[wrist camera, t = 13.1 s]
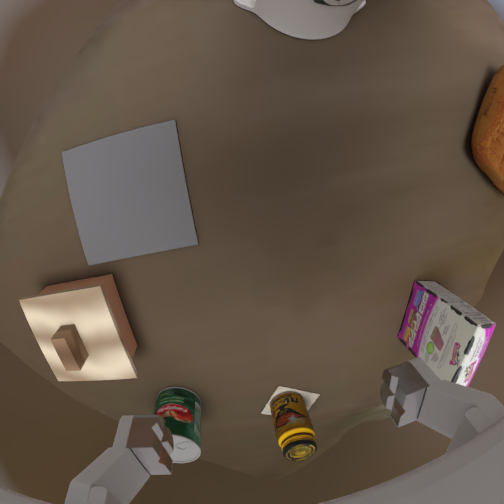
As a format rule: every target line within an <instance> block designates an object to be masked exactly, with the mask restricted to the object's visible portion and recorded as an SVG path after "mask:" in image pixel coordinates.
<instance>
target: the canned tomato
mask: <svg viewBox="0 0 504 504" xmlns="http://www.w3.org/2000/svg"><path fill="white" fill-rule="evenodd" d="M201 406H202V404H201V399H200V398H199V396H198V395H197V394H196V393H195V392H193V391H191V390H189V389H187V388H184V387H176V386H174V387H168V388H165V389H163V390H161V391H160V392H159V393H158V396H157V401H156V406H155V411H154V415H162V417H163V418H164V420H165V425H164V426H166V427H168V428H169V429H170V431H171V433H172V436H173V442H174V450H173V452H172V453H171V454H170V457H171V459H172V460H173V463H187V462H191V461H194V460H196V459H197V458H198V457H199V456H200V454H201V449H200V446H201Z"/></svg>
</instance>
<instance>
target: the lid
mask: <svg viewBox="0 0 504 504" xmlns="http://www.w3.org/2000/svg"><path fill="white" fill-rule="evenodd" d="M19 301H20V304H21V306H22V308H23V311H24V313H25V315H26V318H27V320H28V322H29V325H30V327H31V329H32V331H33V333H34V335H35V338H36V340H37V342H38V344H39V346H40V348H41V350H42V352H43V354H44V356H45V357H46V359H47V361H48V363H49V365H50V367H51V369H52V370H53V372H54V374H55V376H56V378H57V379H58V381H91V380H113V379H129V378H137V377H138V373H137V371H136V368H135V366H134V364H133V362H132V359H131V357H130V355H129V352H128V350H127V348H126V345H125V343H124V340H123V338H122V336H121V333H120V331H119V328H118V325H117V323H116V320H115V318H114V315H113V312H112V310H111V307H110V304H109V301H108V298H107V295H106V293H105V290H104V287H103V284H96V285H91V286H85V287H79V288H74V289H68V290H62V291H56V292H51V293H45V294H39V295H33V296H28V297H22V298H21V299H20V300H19Z"/></svg>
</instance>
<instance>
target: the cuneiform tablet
mask: <svg viewBox="0 0 504 504" xmlns="http://www.w3.org/2000/svg"><path fill="white" fill-rule="evenodd" d="M471 145H472V152H473V157H474V160H475V162H476V163H477V165H478V166H479V168H480V169H481V170H482V171H483V172H484V173H485V174H486V175H487V176H488V177H489V178H490V179H491V180H492V183H493V184H494V185H495V186H496V187H497V188H498V189H499V190H500V191H501V192H502V193H503V194H504V65H503V66H501V67H500V68H499V70H498V71H497V73H496V74H495V75H494V77H493V79H492V80H491V82H490V85H489V87H488V89H487V92H486V94H485V96H484V99H483V101H482V104H481V107H480V110H479V113H478V116H477V119H476V122H475V125H474V129H473V133H472V140H471Z"/></svg>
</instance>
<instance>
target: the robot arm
mask: <svg viewBox="0 0 504 504" xmlns="http://www.w3.org/2000/svg"><path fill="white" fill-rule="evenodd" d="M233 1H234V3H235V4H236V5H237V6H239V7H241V8H243V9H246V10H248V11H251V12H254V13H255V14H257V15H258V16H259V17H260V18H261V19H263V20H264V21H265V22H266V23H267V24H268V25H270V26H271V27H273V28H274V29H276V30H278V31H280V32H282V33H284V34H287V35H290V36H293V37H297V38H301V39H312V40H315V39H324V38H328V37H331V36H334V35H336V34H338V33H339V32H341V31H342V30H343V29H344V28H345V27H346V26H347V24H348V23H349V21H350V19H351V17H352V15H353V14H354V13H355V12H357V11H359V10H360V9H362V8H363V7H364V5H365V4H366V0H233ZM382 378H383V380H384V383H383V384H382V385H381V390H380V393H381V399H382V402H383V404H384V406H385V407H386V408H387V409H390V410H392V412H391V417H392V419H393V420H394V422H395V423H396V425H397V427H400V426H403V425H405V424H408V423H410V422H413V421H415V420H417V421H418V422H420V423H422V424H424V425H426V426H428V427H430V428H432V429H433V430H435V431H437V432H439V433H441V434H443V435H445V436H447V437H449V438H451V439H452V441H451V443H450V445H449V447H448V449H447V451H446V452H447V453H446V454H445V455H443V456H441V457H439V458H437V459H435V460H433V461H431V462H429V463H427V464H425V465H423V466H421V467H419V468H417V469H415V470H412V471H410V472H408V473H406V474H403V475H401V476H399V477H396V478H394V479H392V480H389V481H387V482H384V483H382V484H379V485H376V486H373V487H371V488H368V489H365V490H362V491H359V492H356V493H353V494H350V495H347V496H344V497H340V498H337V499H334V500H330V501H326V502H322V503H318V504H504V406H503V405H502V404H501V403H500V402H499V401H498V400H497V399H496V398H495V397H494V396H493V395H492V394H489V393H485V392H482V391H479V390H476V389H472V388H469V387H466V386H463V385H460V384H456V383H453V382H450V381H447V380H442V381H441V380H440V379H439V378H438V376H437V375H436V374H435V373H434V372H433V371H432V370H431V369H430V367H429V366H428V365H427V364H426V363H425V362H424V361H423V360H422V359H421V358H420V357H417V358H415V359H412V360H409V361H407V362H404V363H401V364H399V365H396V366H393V367H390V368H388V369H385V370H384V371H383V375H382ZM164 425H165V420H164V418H163V417H162V415H135V416H122V417H121V419H120V422H119V426H118V429H117V433H116V436H115V440H114V443H113V447H112V448H108V449H107V450H106V451H105V452H104V453H103V454H101V455H100V456H99V457H98V458H97V459H96V460H95V461H94V462H93V463H91V464H90V465H89V466H88V467H87V468H86V469H85V470H83V471H82V472H81V473H80V474H79V475H78V476H76V477H75V478H74V479H73V480H72V481H71V483H70V486H69V489H68V493H67V496H66V500H65V503H64V504H129V503H130V502H131V500H132V499H133V498H134V497H135V495H136V494H137V493H138V491H139V490H140V489H141V488H142V486H143V485H144V484H145V482H146V481H147V480H148V478H149V477H150V475H162V474H171V473H172V462H173V460H172V459H171V457H170V454H171V453H172V452H173V450H174V442H173V436H172V433H171V431H170V429H169V428H168V427H166V426H164ZM0 504H51V503H47V502H44V501H40V500H37V499H34V498H31V497H28V496H25V495H21V494H19V493H16V492H13V491H10V490H8V489H5V488H3V487H0Z"/></svg>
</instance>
